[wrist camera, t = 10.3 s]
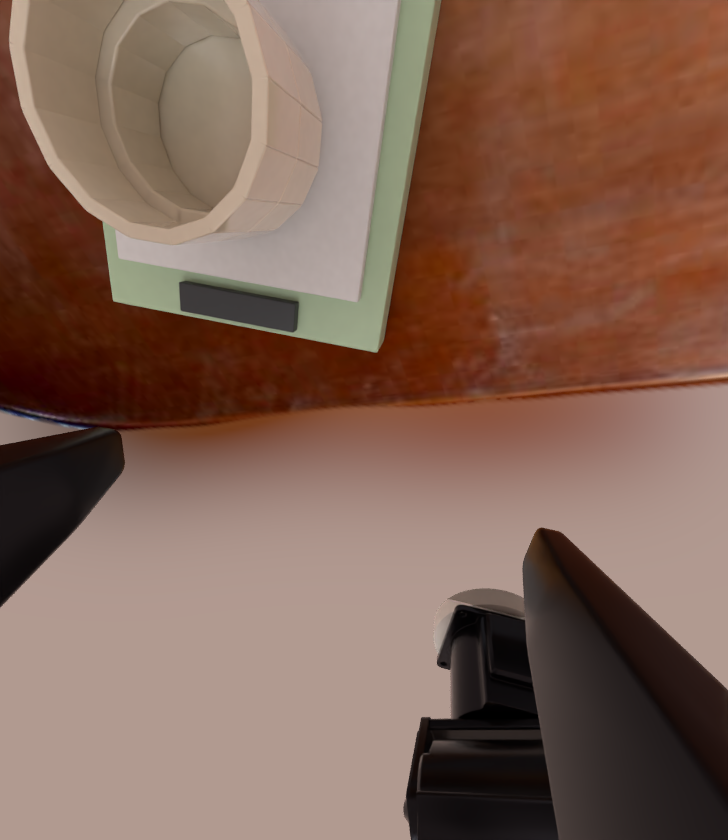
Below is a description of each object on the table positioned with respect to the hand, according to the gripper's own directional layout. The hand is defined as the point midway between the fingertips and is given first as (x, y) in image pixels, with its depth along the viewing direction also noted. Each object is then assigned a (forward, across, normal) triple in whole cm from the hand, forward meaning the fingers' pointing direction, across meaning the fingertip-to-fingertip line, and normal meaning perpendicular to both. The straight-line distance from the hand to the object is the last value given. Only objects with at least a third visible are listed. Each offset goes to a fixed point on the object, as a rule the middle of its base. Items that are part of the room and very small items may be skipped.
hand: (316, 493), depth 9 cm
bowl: (+9, +6, -7) cm, 13 cm away
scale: (+11, +6, -6) cm, 14 cm away
